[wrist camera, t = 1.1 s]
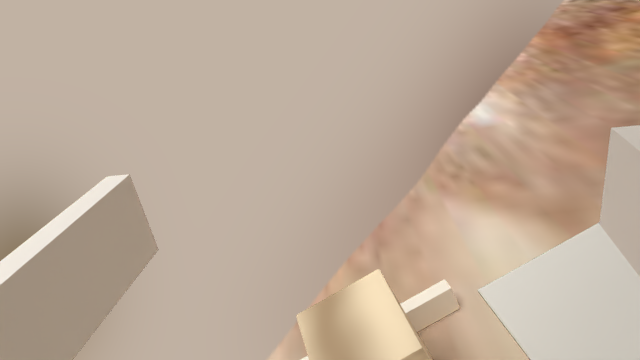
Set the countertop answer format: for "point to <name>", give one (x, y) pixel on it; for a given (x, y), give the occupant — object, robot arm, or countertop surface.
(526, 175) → the countertop surface
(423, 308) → the lane rail
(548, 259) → the grey mat
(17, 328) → the robot arm
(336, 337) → the maple block
